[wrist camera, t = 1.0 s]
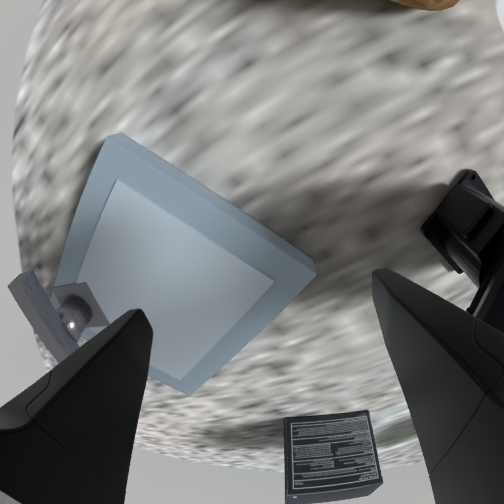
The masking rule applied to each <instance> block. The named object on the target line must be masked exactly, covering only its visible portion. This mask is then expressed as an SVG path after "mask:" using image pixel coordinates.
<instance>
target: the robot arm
mask: <svg viewBox="0 0 504 504" xmlns="http://www.w3.org/2000/svg"><path fill="white" fill-rule="evenodd" d="M471 175H473V176H472V178H471ZM428 228H429V231H427V232H426V230H427V229H428ZM421 232H422V234H423V235H424V236H425V237H426V238H427V239H428V240H429V241H430V242H431V243H432V244H433V245H434V247H435V248H436V249H437V250H438V251H439V252H440V253H441V254H442V256H443V257H444V258H445V259H446V260H447V261H448V262H449V264H450V265H451V266H452V267H453V268H454V269H455V271H456V272H457V273H458V274H461V273H463V272H465V274H466V275H467V276H468V277H469V278H470V279H471V281H472V282H473V283H474V284H475V285H476V286H477V288H478V291H477V293H476V295H475V297H474V299H473V301H472V303H471V305H470V307H469V308H467V310H466V311H464V310H462V309H461V308H459V307H457V306H455V305H454V304H452V303H450V302H448V301H447V300H445V299H443V298H441V297H440V296H438V295H436V294H434V293H432V292H431V291H429V290H427V289H425V288H423V287H422V286H420V285H418V284H416V283H414V282H412V281H411V280H409V279H407V278H405V277H403V276H401V275H400V274H398V273H396V272H394V271H392V270H390V269H388V268H382V269H377V270H374V271H373V274H372V293H373V301H374V305H375V308H376V312H377V315H378V319H379V323H380V326H381V330H382V334H383V337H384V341H385V345H386V348H387V350H388V353H389V356H390V358H391V361H392V363H393V366H394V369H395V371H396V374H397V377H398V379H399V382H400V385H401V388H402V391H403V393H404V396H405V399H406V402H407V405H408V408H409V411H410V414H411V417H412V420H413V423H414V426H415V429H416V432H417V436H418V439H419V442H420V445H421V449H422V452H423V456H424V459H425V463H426V466H427V470H428V474H430V475H429V478H430V482H431V486H432V490H433V494H434V499H435V503H436V504H504V206H502V205H501V204H499V203H498V202H496V201H495V200H494V199H493V197H492V196H491V194H490V192H489V191H488V189H487V188H486V186H485V184H484V183H483V181H482V180H481V178H480V177H479V175H478V174H477V172H476V171H474V170H472V169H470V170H468V171H467V172H466V173H465V174H464V176H463V177H462V178H461V180H460V181H459V182H458V183H457V185H456V186H455V187H454V188H453V189H452V191H451V192H450V193H449V194H448V195H447V197H446V198H445V199H444V200H443V202H442V203H441V204H440V205H439V206H438V208H437V209H436V210H435V212H434V213H433V214H432V215H431V216H430V217H429V219H428V220H427V221H426V222H425V223H424V224H423V226H422V228H421ZM459 268H460V269H459ZM152 342H153V328H152V326H151V324H150V322H149V321H148V319H147V317H146V315H145V313H144V311H143V310H142V309H140V308H138V309H130V310H128V311H127V312H125V313H124V314H123V315H121V316H120V317H119V318H117V319H116V320H115V321H114V322H112V323H111V324H110V325H108V326H107V327H106V328H104V329H103V330H102V331H100V332H99V333H98V334H96V335H95V336H94V337H93V338H91V339H90V340H89V341H87V342H86V343H85V344H84V345H82V346H81V347H80V348H78V349H77V350H76V351H75V352H73V353H72V354H71V355H69V356H68V357H67V358H66V359H64V360H63V361H62V362H61V363H59V364H58V365H57V366H55V367H54V368H53V370H50V371H49V372H48V373H47V374H45V375H44V376H43V377H41V378H40V379H39V380H38V381H37V382H36V383H34V384H33V385H31V386H30V387H28V388H27V389H26V390H24V391H23V392H21V394H19V395H17V396H16V397H14V398H13V399H12V400H10V401H9V402H7V403H6V404H5V405H3V406H2V407H1V408H0V504H124V501H125V494H126V485H127V479H128V473H129V467H130V461H131V455H132V450H133V444H134V439H135V434H136V429H137V424H138V419H139V414H140V409H141V404H142V400H143V395H144V391H145V386H146V382H147V377H148V371H149V364H150V356H151V349H152Z"/></svg>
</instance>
